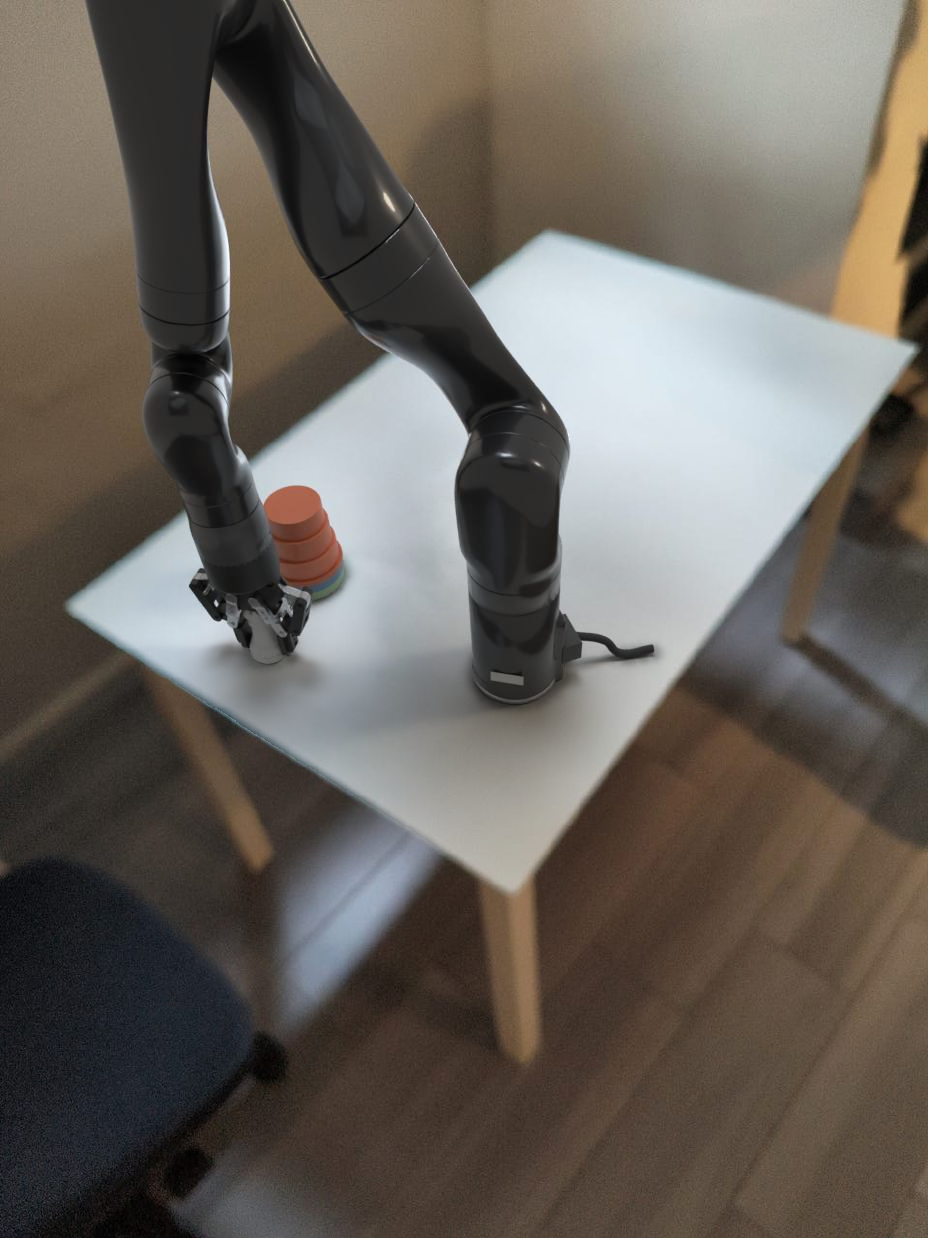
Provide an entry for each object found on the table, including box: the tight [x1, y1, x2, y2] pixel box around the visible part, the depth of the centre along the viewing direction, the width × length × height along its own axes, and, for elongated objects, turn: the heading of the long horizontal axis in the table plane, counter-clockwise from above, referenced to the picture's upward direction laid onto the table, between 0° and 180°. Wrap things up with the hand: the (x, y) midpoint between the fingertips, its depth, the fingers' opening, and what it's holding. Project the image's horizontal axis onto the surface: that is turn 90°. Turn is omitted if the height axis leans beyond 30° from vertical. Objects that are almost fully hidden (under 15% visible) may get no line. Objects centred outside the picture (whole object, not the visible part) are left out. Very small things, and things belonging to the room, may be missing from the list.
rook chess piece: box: [243, 610, 286, 665], centre depth 102 cm, size 4×4×8 cm
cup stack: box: [263, 484, 345, 602], centre depth 108 cm, size 9×9×12 cm
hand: (269, 645), depth 104 cm, fingers closed on rook chess piece, 4 cm apart
